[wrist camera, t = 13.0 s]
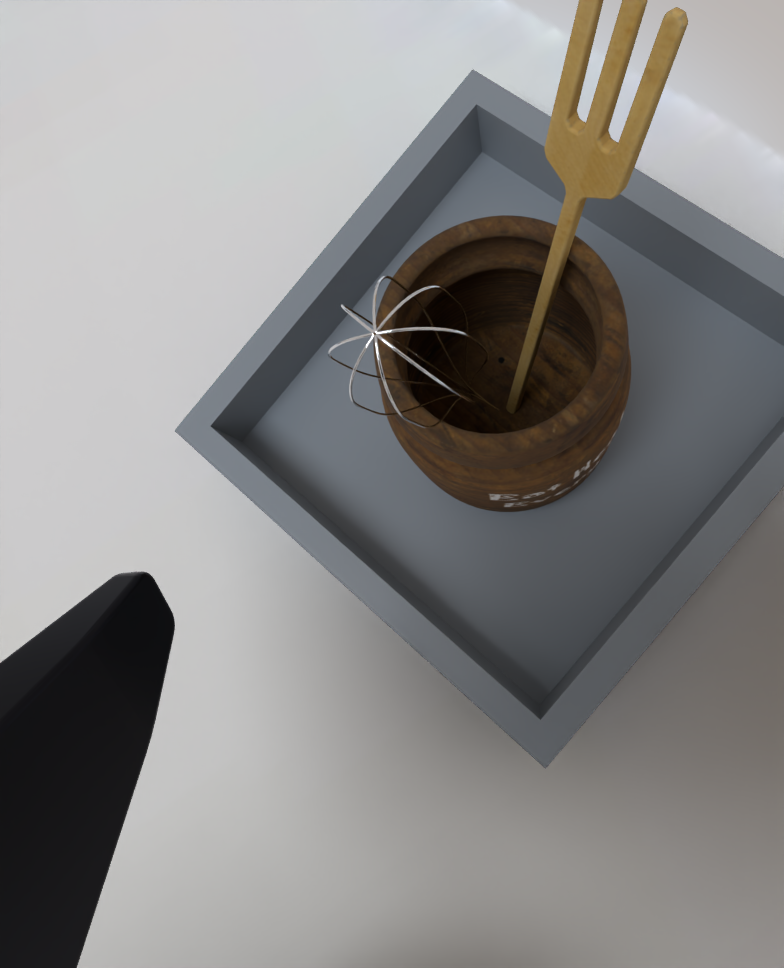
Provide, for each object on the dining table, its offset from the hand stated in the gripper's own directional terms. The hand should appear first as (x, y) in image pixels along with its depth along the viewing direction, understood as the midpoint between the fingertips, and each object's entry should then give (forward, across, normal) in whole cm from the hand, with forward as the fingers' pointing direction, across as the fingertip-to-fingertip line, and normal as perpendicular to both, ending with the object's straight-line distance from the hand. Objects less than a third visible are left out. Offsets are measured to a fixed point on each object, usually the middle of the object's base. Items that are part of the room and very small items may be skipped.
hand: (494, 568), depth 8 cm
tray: (+12, 0, +5) cm, 13 cm away
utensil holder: (+12, 0, +5) cm, 13 cm away
